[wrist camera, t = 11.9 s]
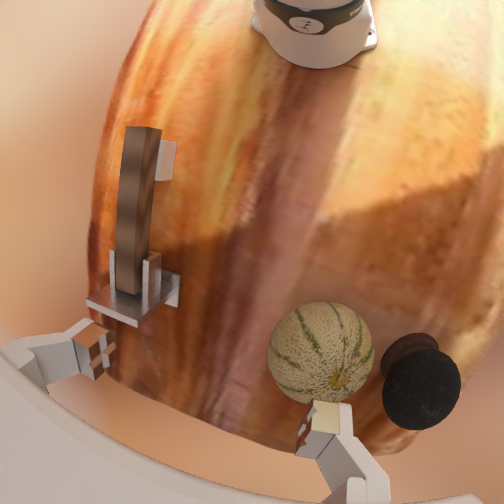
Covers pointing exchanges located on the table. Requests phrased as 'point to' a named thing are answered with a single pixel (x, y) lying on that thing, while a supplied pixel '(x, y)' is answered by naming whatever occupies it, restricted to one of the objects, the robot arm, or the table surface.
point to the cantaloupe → (320, 352)
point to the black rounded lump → (418, 382)
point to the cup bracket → (143, 302)
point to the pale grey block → (165, 160)
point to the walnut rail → (135, 205)
